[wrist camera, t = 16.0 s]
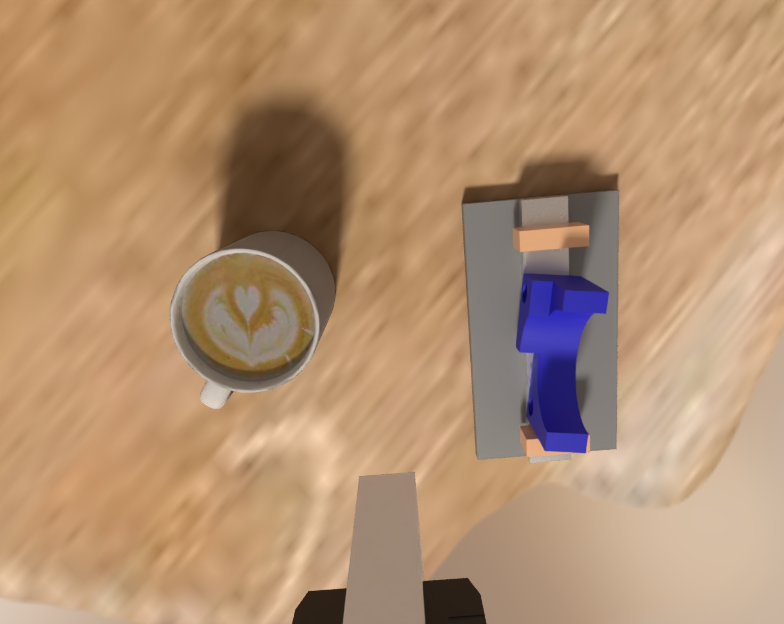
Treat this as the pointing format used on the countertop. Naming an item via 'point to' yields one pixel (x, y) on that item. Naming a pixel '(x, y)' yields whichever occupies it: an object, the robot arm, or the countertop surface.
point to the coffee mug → (252, 313)
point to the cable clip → (556, 353)
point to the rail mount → (502, 304)
